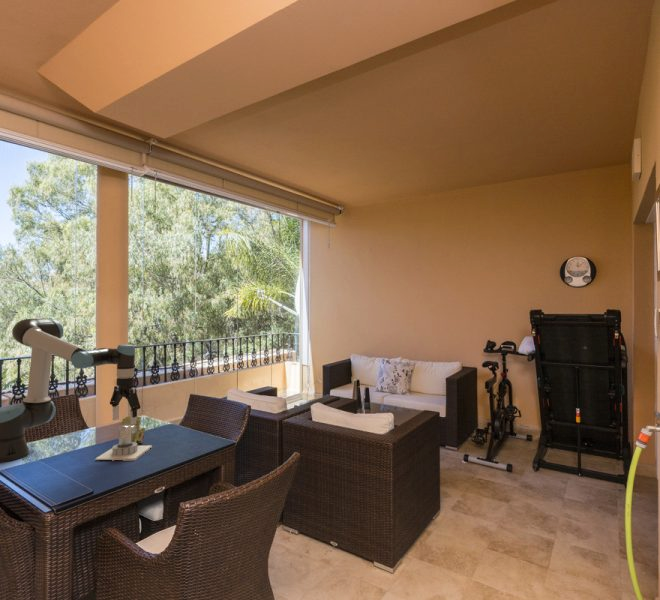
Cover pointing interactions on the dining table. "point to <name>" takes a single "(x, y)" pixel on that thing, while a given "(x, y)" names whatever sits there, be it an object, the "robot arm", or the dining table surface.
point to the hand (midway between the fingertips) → (124, 421)
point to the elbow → (126, 435)
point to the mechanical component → (140, 432)
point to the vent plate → (126, 457)
